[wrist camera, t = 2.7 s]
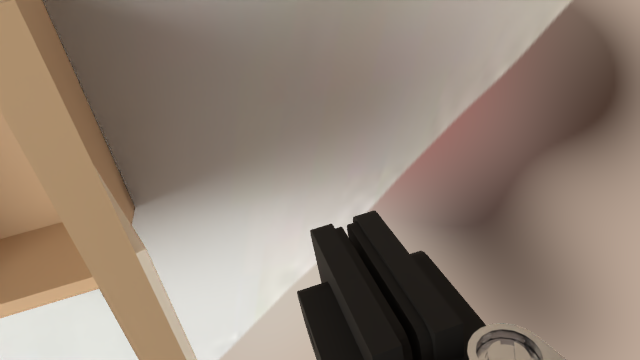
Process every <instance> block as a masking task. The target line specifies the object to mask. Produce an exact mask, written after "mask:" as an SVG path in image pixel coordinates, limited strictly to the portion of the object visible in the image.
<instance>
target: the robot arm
mask: <svg viewBox="0 0 640 360" xmlns="http://www.w3.org/2000/svg"><path fill="white" fill-rule="evenodd" d="M347 231H348V236H349V238H348V236H347V234H346V233H345V231H344V229H343V228H342V227H339V228H336V229H335V228H334V226H333V225H332V224H329V225H326V226H322V227H319V228H316V229H313V230H311V231H310V232H311V238H312V243H313V247H314V251H315V256H316V260H317V265H318V269H319V274H320V278H321V282H322V283H321V284H319V285H315V286H312V287H310V288H307V289H303V290H300V291H298V292H297V294H298V298H299V302H300V306H301V309H302V313H303V317H304V321H305V324H306V328H307V331H308V334H309V337H310V341H311V344H312V347H313V350H314V352H315V356H316V359H317V360H566V359H565V358H564V357H563V356H561V355H560V354H559V353H558V352H557V351H555V350H554V349H553V348H552V347H550V346H549V345H548V344H547V343H546V342H544V341H543V340H542V339H541V338H540V337H538V336H537V335H535V334H534V333H532V332H531V331H529V330H527V329H525V328H522V327H519V326H517V325H512V324H505V323H499V324H490V325H487V326H486V325H485V324H484V322H483V321H482V320H481V319H480V317H479V316H478V315H477V314H476V313H475V312H474V310H473V309H472V308H471V307H470V306H469V304H468V303H467V302H466V301H465V300H464V298H463V297H462V296H461V295H460V294H459V293H458V291H457V290H456V289H455V288H454V286H453V285H452V284H451V283H450V282H449V281H448V279H447V278H446V277H445V276H444V275H443V273H442V272H441V271H440V270H439V269H438V268H437V266H436V265H435V264H434V263H433V262H432V260H431V259H430V258H429V257H428V255H426V254H425V253H424V252H423V251H419V252H416V253H412V254H409V253H408V252H407V250H406V249H405V248H404V246H403V245H402V244H401V243H400V242H399V240H398V239H397V238H396V236H395V235H394V234H393V232H392V231H391V230H390V229H389V227H388V226H387V225H386V224H385V222H384V221H383V220H382V218H381V217H380V216H379V214H378V213H377V212H376V211H371V212H368V213H365V214H361V215H358V216H355V217H353V223H352V224H349V225H347Z"/></svg>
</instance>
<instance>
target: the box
mask: <svg viewBox="0 0 640 360" xmlns="http://www.w3.org/2000/svg"><path fill="white" fill-rule="evenodd" d="M15 1H16V4H17V6H18V8H19V10H20V12H21V14H22V16H23V18H24V20H25V22H26V25H27V27H28V29H29V31H30V33H31V35H32V37H33V39H34V41H35V43H36V46H37V48H38V50H39V52H40V54H41V56H42V58H43V60H44V62H45V64H46V66H47V69H48V71H49V73H50V75H51V77H52V79H53V81H54V83H55V85H56V87H57V90H58V92H59V94H60V96H61V98H62V100H63V102H64V104H65V106H66V108H67V111H68V113H69V115H70V117H71V119H72V121H73V123H74V125H75V127H76V129H77V132H78V134H79V136H80V138H81V140H82V142H83V144H84V146H85V148H86V150H87V152H88V155H89V157H90V159H91V161H92V163H93V165H94V166H95V168H96V169H97V171H98V173H99V174H100V176H101V177H102V179H103V181H104V182H105V184H106V185H107V187H108V189H109V190H110V192H111V193H112V195H113V197H114V198H115V200H116V201H117V203H118V205H119V206H120V208H121V209H122V211H123V213H124V214H125V216H126V217H127V219H128V221H129V222H130V224H131V225H132V220H133V215H134V210H135V206H134V204H133V202H132V200H131V197H130V195H129V193H128V191H127V189H126V186H125V184H124V182H123V180H122V177H121V175H120V173H119V171H118V168H117V166H116V164H115V162H114V160H113V157H112V155H111V153H110V151H109V148H108V146H107V144H106V142H105V139H104V137H103V135H102V133H101V131H100V128H99V126H98V124H97V122H96V119H95V117H94V115H93V113H92V110H91V108H90V106H89V104H88V102H87V99H86V97H85V95H84V93H83V90H82V88H81V86H80V84H79V81H78V79H77V77H76V75H75V73H74V70H73V68H72V66H71V64H70V61H69V59H68V57H67V55H66V52H65V50H64V48H63V46H62V44H61V41H60V39H59V37H58V35H57V32H56V30H55V28H54V26H53V24H52V21H51V19H50V17H49V15H48V12H47V10H46V8H45V6H44V3H43V1H42V0H15ZM96 289H99V287H98V285H97V284H96V282H95V280H94V278H93V276H92V275H91V273H90V271H89V269H88V267H87V266H86V264H85V262H84V260H83V258H82V257H81V255H80V253H79V251H78V249H77V248H76V246H75V244H74V242H73V240H72V239H71V237H70V235H69V233H68V231H67V230H66V228H65V226H64V224H63V222H62V221H61V219H60V217H59V215H58V213H57V212H56V210H55V208H54V206H53V204H52V203H51V201H50V199H49V197H48V195H47V194H46V192H45V190H44V188H43V186H42V185H41V183H40V181H39V179H38V177H37V176H36V174H35V172H34V170H33V168H32V167H31V165H30V163H29V161H28V159H27V158H26V156H25V154H24V152H23V150H22V149H21V147H20V145H19V143H18V141H17V140H16V138H15V136H14V134H13V132H12V131H11V129H10V127H9V125H8V123H7V122H6V120H5V118H4V116H3V114H2V113H1V111H0V318H3V317H6V316H9V315H13V314H16V313H19V312H23V311H26V310H29V309H33V308H36V307H39V306H43V305H46V304H49V303H53V302H56V301H59V300H63V299H66V298H69V297H73V296H76V295H79V294H83V293H86V292H89V291H93V290H96Z"/></svg>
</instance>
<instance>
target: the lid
mask: <svg viewBox="0 0 640 360" xmlns="http://www.w3.org/2000/svg"><path fill="white" fill-rule="evenodd" d="M0 111H1V113H2V114H3V116H4V118H5V120H6V122H7V123H8V125H9V127H10V129H11V131H12V132H13V134H14V136H15V138H16V140H17V141H18V143H19V145H20V147H21V149H22V150H23V152H24V154H25V156H26V158H27V159H28V161H29V163H30V165H31V167H32V168H33V170H34V172H35V174H36V176H37V177H38V179H39V181H40V183H41V185H42V186H43V188H44V190H45V192H46V194H47V195H48V197H49V199H50V201H51V203H52V204H53V206H54V208H55V210H56V212H57V213H58V215H59V217H60V219H61V221H62V222H63V224H64V226H65V228H66V230H67V231H68V233H69V235H70V237H71V239H72V240H73V242H74V244H75V246H76V248H77V249H78V251H79V253H80V255H81V257H82V258H83V260H84V262H85V264H86V266H87V267H88V269H89V271H90V273H91V275H92V276H93V278H94V280H95V282H96V284H97V285H98V287H99V289H100V291H101V293H102V294H103V296H104V298H105V300H106V302H107V303H108V305H109V307H110V309H111V311H112V312H113V314H114V316H115V318H116V320H117V321H118V323H119V325H120V327H121V329H122V330H123V332H124V334H125V336H126V338H127V339H128V341H129V343H130V345H131V347H132V348H133V350H134V352H135V354H136V356H137V357H138V359H139V360H197V358H196V356H195V354H194V352H193V350H192V347H191V345H190V343H189V341H188V339H187V337H186V334H185V332H184V330H183V328H182V326H181V323H180V321H179V319H178V317H177V315H176V313H175V310H174V308H173V306H172V304H171V302H170V299H169V297H168V295H167V293H166V291H165V289H164V286H163V284H162V282H161V280H160V278H159V276H158V273H157V271H156V269H155V267H154V265H153V262H152V260H151V258H150V256H149V254H148V252H147V249H146V248H145V246H144V244H143V243H142V241H141V240H140V238H139V236H138V235H137V233H136V232H135V230H134V228H133V227H132V225H131V224H130V222H129V221H128V219H127V217H126V216H125V214H124V213H123V211H122V209H121V208H120V206H119V205H118V203H117V201H116V200H115V198H114V197H113V195H112V193H111V192H110V190H109V189H108V187H107V185H106V184H105V182H104V181H103V179H102V177H101V176H100V174H99V173H98V171H97V169H96V168H95V166H94V165H93V163H92V161H91V159H90V157H89V155H88V152H87V150H86V148H85V146H84V144H83V142H82V140H81V138H80V136H79V134H78V132H77V129H76V127H75V125H74V123H73V121H72V119H71V117H70V115H69V113H68V111H67V108H66V106H65V104H64V102H63V100H62V98H61V96H60V94H59V92H58V90H57V87H56V85H55V83H54V81H53V79H52V77H51V75H50V73H49V71H48V69H47V66H46V64H45V62H44V60H43V58H42V56H41V54H40V52H39V50H38V48H37V46H36V43H35V41H34V39H33V37H32V35H31V33H30V31H29V29H28V27H27V25H26V22H25V20H24V18H23V16H22V14H21V12H20V10H19V8H18V6H17V4H16V1H15V0H0Z"/></svg>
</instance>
